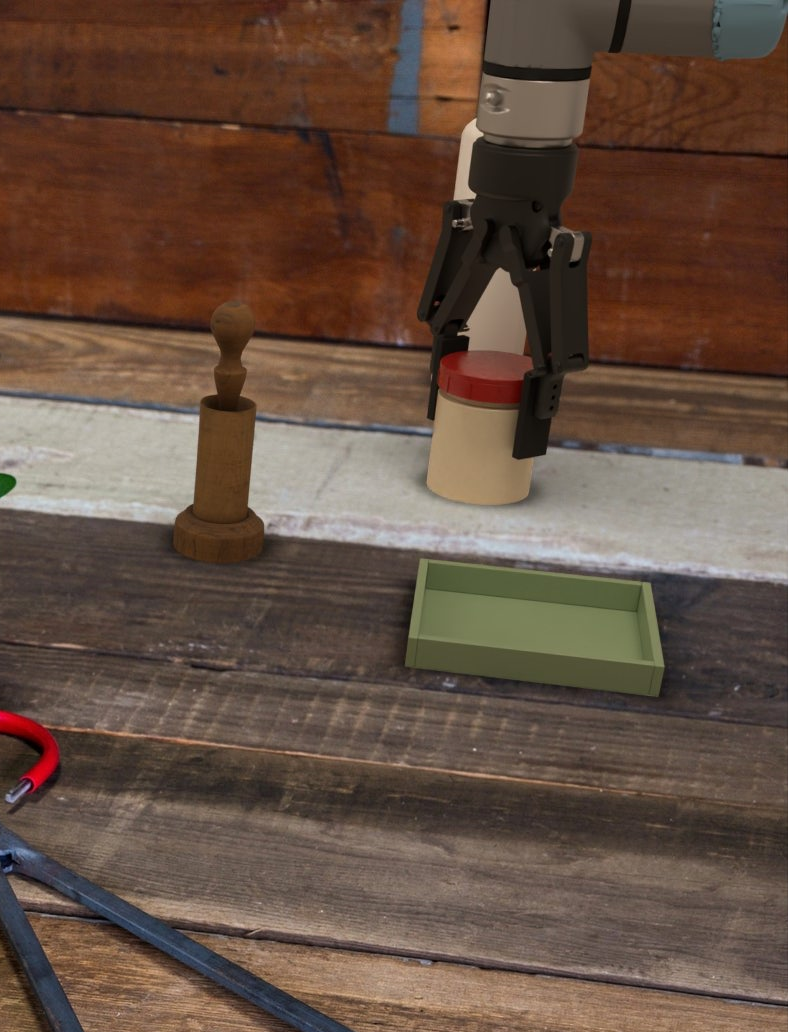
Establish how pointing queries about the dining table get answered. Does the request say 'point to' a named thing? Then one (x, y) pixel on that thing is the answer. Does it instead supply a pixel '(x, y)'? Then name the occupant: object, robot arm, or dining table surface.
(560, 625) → the tray
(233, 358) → the mortar and pestle
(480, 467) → the jam jar
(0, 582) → the dining table surface
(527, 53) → the robot arm
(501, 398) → the jam lid
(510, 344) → the bottle
